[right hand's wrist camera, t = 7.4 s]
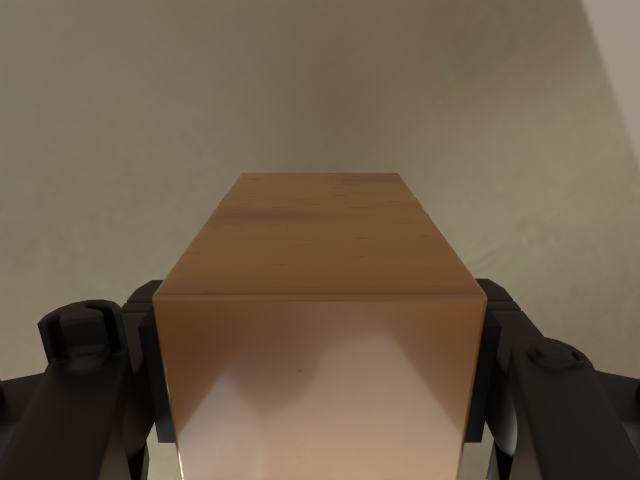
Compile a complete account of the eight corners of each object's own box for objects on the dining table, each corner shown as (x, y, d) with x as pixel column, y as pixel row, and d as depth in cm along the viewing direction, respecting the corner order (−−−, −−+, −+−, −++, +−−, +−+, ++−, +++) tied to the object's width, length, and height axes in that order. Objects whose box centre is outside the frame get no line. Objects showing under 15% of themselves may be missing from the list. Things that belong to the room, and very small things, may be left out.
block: (389, 309, 16) (451, 528, 8) (250, 309, 16) (187, 529, 8) (398, 172, 14) (490, 296, 6) (241, 172, 14) (148, 296, 6)
